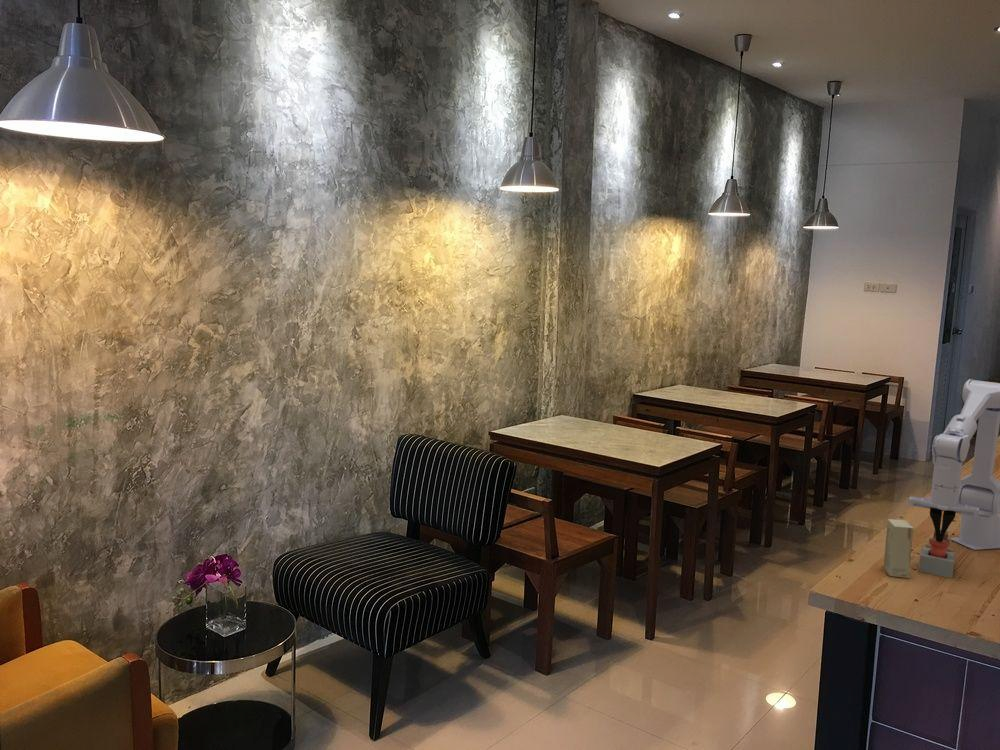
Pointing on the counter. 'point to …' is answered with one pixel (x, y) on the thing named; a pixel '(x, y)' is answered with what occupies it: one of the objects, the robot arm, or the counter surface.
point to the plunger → (938, 547)
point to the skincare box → (898, 548)
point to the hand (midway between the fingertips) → (939, 540)
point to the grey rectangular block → (936, 563)
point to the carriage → (943, 539)
